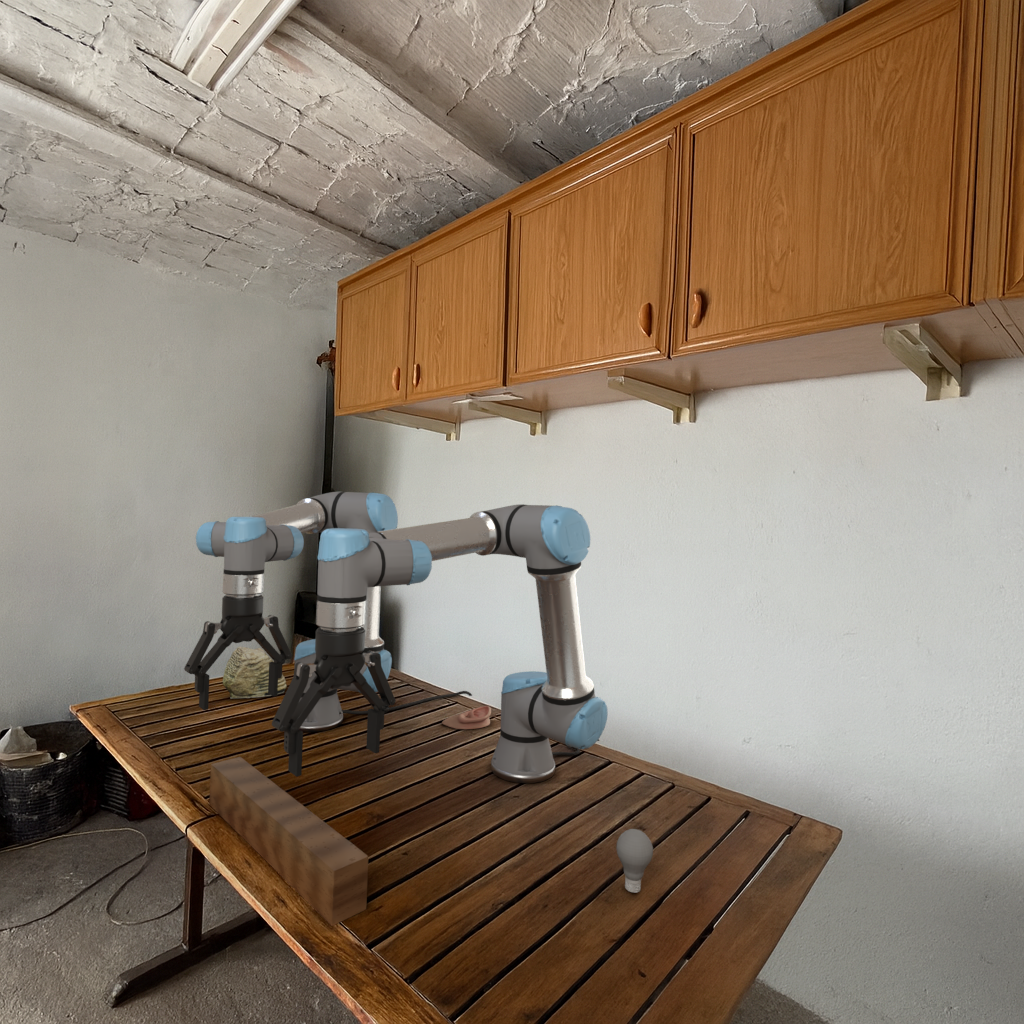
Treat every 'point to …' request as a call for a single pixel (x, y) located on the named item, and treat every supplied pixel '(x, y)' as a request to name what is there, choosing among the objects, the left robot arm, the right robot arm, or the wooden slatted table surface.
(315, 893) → the bar
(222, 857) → the wooden slatted table surface
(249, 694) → the fossil
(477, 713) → the anatomical model
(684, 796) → the wooden slatted table surface
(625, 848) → the light bulb
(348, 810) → the wooden slatted table surface
